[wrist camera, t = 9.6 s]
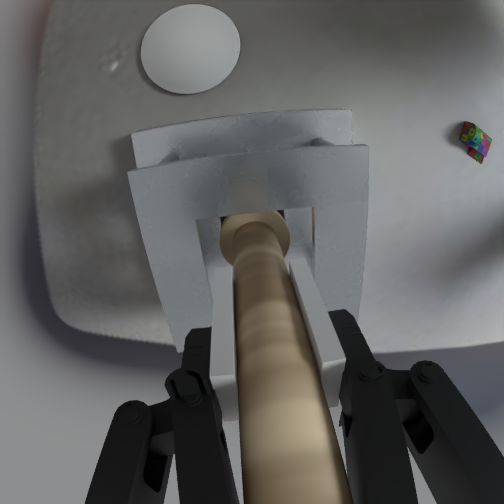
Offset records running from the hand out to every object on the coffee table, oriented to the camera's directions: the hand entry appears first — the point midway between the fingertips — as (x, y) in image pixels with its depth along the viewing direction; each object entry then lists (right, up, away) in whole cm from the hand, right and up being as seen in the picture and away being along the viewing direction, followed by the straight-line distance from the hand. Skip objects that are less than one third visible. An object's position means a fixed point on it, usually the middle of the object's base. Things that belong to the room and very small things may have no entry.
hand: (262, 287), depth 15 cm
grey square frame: (-1, +5, +9) cm, 10 cm away
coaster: (-5, +16, +3) cm, 17 cm away
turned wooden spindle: (0, +3, +5) cm, 6 cm away
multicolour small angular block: (+20, +13, +7) cm, 25 cm away
